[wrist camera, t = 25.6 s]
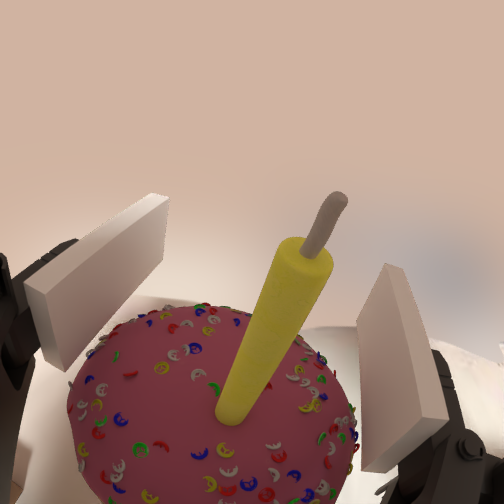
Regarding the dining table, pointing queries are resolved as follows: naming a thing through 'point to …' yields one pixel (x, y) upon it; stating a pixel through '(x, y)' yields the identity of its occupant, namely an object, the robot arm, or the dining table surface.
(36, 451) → the dining table surface
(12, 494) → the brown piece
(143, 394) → the cupcake
